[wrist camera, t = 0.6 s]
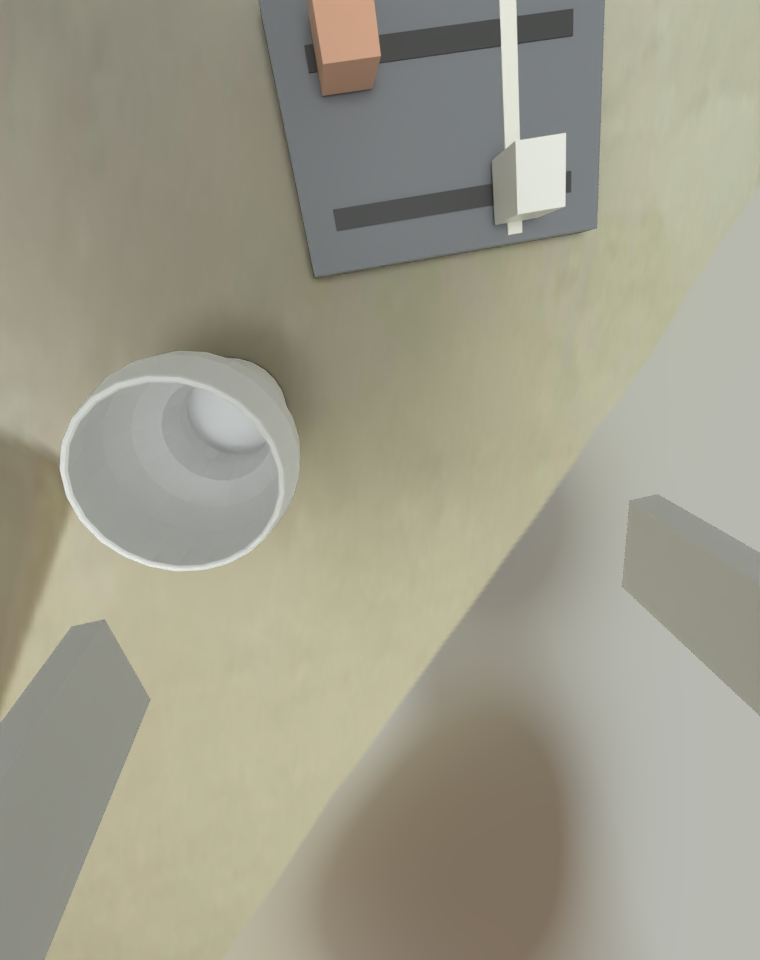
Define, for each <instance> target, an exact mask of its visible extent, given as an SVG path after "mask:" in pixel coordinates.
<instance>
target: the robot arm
mask: <svg viewBox="0 0 760 960" xmlns="http://www.w3.org/2000/svg"><path fill="white" fill-rule="evenodd" d="M622 587H623V588H624V589H625V590H626V591H627V592H628V593H629V594H631V595H632V596H633V597H634V598H635V599H636V600H637V601H638V602H639V603H640V604H641V605H642V606H643V607H644V608H645V609H647V611H649V612H650V613H651V614H652V615H653V616H654V617H655V618H656V619H657V620H658V621H659V622H660V623H661V624H663V626H665V627H666V628H667V629H668V630H669V631H670V632H671V633H672V634H673V635H674V636H675V637H676V638H677V639H678V640H680V641H681V642H682V643H683V644H684V645H685V646H686V647H687V648H688V649H689V650H690V651H691V652H692V653H693V654H694V655H696V656H697V657H698V658H699V659H700V660H701V661H702V662H703V663H704V664H705V665H706V666H707V667H708V668H709V669H710V670H712V672H714V673H715V674H716V675H717V676H718V677H719V678H720V679H721V680H722V681H723V682H724V683H725V684H726V685H727V686H728V687H730V688H731V689H732V690H733V691H734V692H735V693H736V694H737V695H738V696H739V697H740V698H741V699H742V700H743V701H745V702H746V703H747V704H748V705H749V706H750V707H751V708H752V709H753V710H754V711H755V712H756V713H757V714H758V715H759V716H760V553H759V552H758V551H756V550H754V549H752V548H750V547H749V546H747V545H745V544H744V543H742V542H740V541H738V540H737V539H735V538H733V537H731V536H730V535H728V534H726V533H724V532H723V531H721V530H719V529H718V528H716V527H714V526H712V525H710V524H709V523H707V522H705V521H703V520H702V519H700V518H698V517H696V516H695V515H693V514H691V513H690V512H688V511H686V510H684V509H683V508H681V507H679V506H677V505H675V504H674V503H672V502H670V501H668V500H667V499H665V498H663V497H662V496H660V495H658V494H657V495H652V496H648V497H643V498H639V499H635V500H630V502H629V512H628V524H627V535H626V548H625V559H624V571H623V581H622ZM149 702H150V698H149V696H148V694H147V692H146V691H145V689H144V687H143V685H142V684H141V682H140V680H139V678H138V677H137V675H136V673H135V671H134V670H133V668H132V666H131V664H130V663H129V661H128V659H127V657H126V656H125V654H124V652H123V650H122V649H121V647H120V645H119V643H118V642H117V640H116V638H115V636H114V635H113V633H112V631H111V629H110V627H109V626H108V624H107V622H106V620H105V619H104V620H99V621H95V622H91V623H86V624H82V625H77V626H73V627H71V628H70V630H69V631H68V632H67V634H66V635H65V636H64V638H63V639H62V640H61V642H60V643H59V645H58V646H57V647H56V649H55V650H54V651H53V653H52V654H51V655H50V657H49V658H48V659H47V661H46V662H45V664H44V665H43V666H42V668H41V669H40V670H39V672H38V673H37V674H36V676H35V677H34V678H33V680H32V681H31V683H30V684H29V685H28V687H27V688H26V689H25V691H24V692H23V693H22V695H21V696H20V697H19V699H18V700H17V701H16V703H15V704H14V706H13V707H12V708H11V710H10V711H9V712H8V714H7V715H6V716H5V718H4V719H3V720H2V722H1V723H0V960H44V959H45V957H46V954H47V952H48V950H49V947H50V945H51V942H52V940H53V937H54V935H55V932H56V930H57V927H58V925H59V923H60V920H61V918H62V915H63V913H64V910H65V908H66V905H67V903H68V900H69V898H70V896H71V893H72V891H73V888H74V886H75V883H76V881H77V878H78V876H79V874H80V871H81V869H82V866H83V864H84V861H85V859H86V856H87V854H88V851H89V849H90V847H91V844H92V842H93V839H94V837H95V834H96V832H97V829H98V827H99V824H100V822H101V820H102V817H103V815H104V812H105V810H106V807H107V805H108V802H109V800H110V797H111V795H112V793H113V790H114V788H115V785H116V783H117V780H118V778H119V775H120V773H121V771H122V768H123V766H124V763H125V761H126V758H127V756H128V753H129V751H130V748H131V746H132V744H133V741H134V739H135V736H136V734H137V731H138V729H139V726H140V724H141V721H142V719H143V717H144V714H145V712H146V709H147V707H148V704H149Z"/></svg>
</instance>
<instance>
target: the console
mask: <svg viewBox="0 0 760 960" xmlns="http://www.w3.org/2000/svg"><path fill="white" fill-rule="evenodd" d="M374 3H375V11H376V20H377V28H378V36H379V44H380V52H381V58H380V62H379V66H378V70H377V74H376V77H375V81H374V85H373V89H367V90H360V91H353V92H347V93H340V94H333V95H326V96H322V92H321V87H320V81H319V75H318V69H317V63H316V57H315V51H314V46H313V40H312V34H311V28H310V22H309V16H308V0H259V5H260V11H261V16H262V21H263V26H264V31H265V36H266V41H267V46H268V51H269V55H270V60H271V65H272V70H273V75H274V80H275V85H276V90H277V95H278V100H279V105H280V110H281V115H282V120H283V124H284V129H285V134H286V139H287V144H288V149H289V154H290V159H291V164H292V169H293V174H294V179H295V184H296V189H297V193H298V198H299V203H300V208H301V213H302V218H303V223H304V228H305V233H306V238H307V243H308V248H309V253H310V258H311V262H312V267H313V272H314V277H315V279H317V278H322V277H328V276H334V275H340V274H345V273H351V272H357V271H363V270H369V269H374V268H380V267H386V266H392V265H397V264H403V263H409V262H415V261H420V260H426V259H432V258H438V257H444V256H449V255H455V254H461V253H467V252H472V251H478V250H484V249H490V248H495V247H501V246H507V245H513V244H519V243H524V242H530V241H536V240H542V239H547V238H553V237H559V236H565V235H570V234H576V233H581V232H585V231H588V230H592V229H595V228H597V212H598V182H599V153H600V124H601V95H602V65H603V36H604V7H605V0H374ZM561 133H566V202H565V207H563V208H560V209H558V210H556V211H553V212H551V213H548V214H546V215H543V216H541V217H538V218H534V219H528V220H522V221H516V222H510V223H504V224H499V225H495V219H494V198H493V178H492V160H493V159H494V158H495V157H497V156H498V155H499V154H500V153H501V152H503V151H504V150H505V149H506V148H507V147H508V146H510V145H511V144H512V143H513V142H514V141H516V140H523V139H529V138H536V137H542V136H548V135H555V134H561Z"/></svg>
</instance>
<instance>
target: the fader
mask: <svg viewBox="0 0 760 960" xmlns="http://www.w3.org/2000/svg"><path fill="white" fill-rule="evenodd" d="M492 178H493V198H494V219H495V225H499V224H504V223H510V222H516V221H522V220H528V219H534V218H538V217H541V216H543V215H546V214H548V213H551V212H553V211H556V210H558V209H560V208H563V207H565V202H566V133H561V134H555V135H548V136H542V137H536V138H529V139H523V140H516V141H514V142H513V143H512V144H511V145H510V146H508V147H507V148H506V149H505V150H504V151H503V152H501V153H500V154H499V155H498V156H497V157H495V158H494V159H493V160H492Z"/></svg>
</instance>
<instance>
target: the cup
mask: <svg viewBox="0 0 760 960" xmlns="http://www.w3.org/2000/svg"><path fill="white" fill-rule="evenodd" d="M299 471H300V439H299V436H298V433H297V430H296V426H295V423H294V420H293V416H292V415H291V413H290V411H289V410H288V408H287V407H286V402H285V399H284V396H283V392H282V390H281V389H280V387H279V385H278V384H277V382H276V381H275V379H274V378H273V377H272V376H271V375H270V374H269V373H268V372H267V371H266V370H264V369H263V368H261V367H259V366H257V365H256V364H254V363H252V362H249V361H246V360H242V359H239V358H225V357H221V356H218V355H215V354H211V353H208V352H197V351H173V352H169V353H165V354H160V355H156V356H152V357H148V358H144V359H141V360H137V361H133V362H131V363H129V364H128V365H126V366H124V367H122V368H121V369H119V370H117V371H116V372H114V373H112V374H110V375H109V376H107V377H106V378H105V379H104V380H103V381H102V382H101V384H100V385H99V386H98V387H97V388H96V389H95V390H94V391H93V392H92V394H91V395H90V396H89V397H88V398H87V399H86V401H85V402H84V403H83V404H82V405H81V407H80V408H79V409H78V410H77V412H76V413H75V414H74V415H73V417H72V418H71V421H70V423H69V426H68V428H67V430H66V433H65V435H64V437H63V440H62V442H61V456H60V473H61V477H62V481H63V485H64V489H65V493H66V497H67V498H68V500H69V502H70V504H71V505H72V507H73V509H74V511H75V512H76V514H77V516H78V518H79V519H80V521H81V522H82V523H83V524H84V525H85V526H86V527H87V528H88V529H89V530H90V531H91V532H92V533H93V534H94V535H95V536H96V537H97V539H98V540H99V541H101V542H102V543H104V544H105V545H107V546H108V547H110V548H111V549H113V550H114V551H116V552H117V553H119V554H121V555H122V556H124V557H126V558H129V559H131V560H134V561H137V562H139V563H142V564H144V565H147V566H149V567H155V568H161V569H167V570H172V571H194V570H206V569H209V568H213V567H217V566H221V565H225V564H228V563H230V562H232V561H234V560H236V559H238V558H240V557H241V556H243V555H245V554H247V553H249V552H250V551H252V550H253V549H254V548H255V547H256V546H257V545H258V544H259V543H260V542H261V541H262V540H263V539H264V538H266V537H267V536H268V534H269V533H270V532H271V531H272V529H273V528H274V527H275V526H276V524H277V523H278V522H279V521H280V519H281V518H282V516H283V514H284V513H285V511H286V509H287V508H288V506H289V504H290V503H291V501H292V500H293V497H294V493H295V489H296V485H297V481H298V478H299Z"/></svg>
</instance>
